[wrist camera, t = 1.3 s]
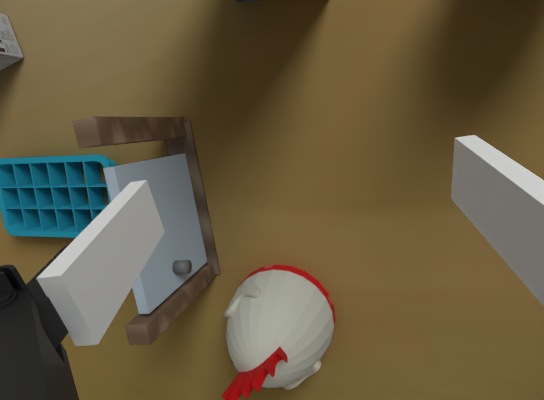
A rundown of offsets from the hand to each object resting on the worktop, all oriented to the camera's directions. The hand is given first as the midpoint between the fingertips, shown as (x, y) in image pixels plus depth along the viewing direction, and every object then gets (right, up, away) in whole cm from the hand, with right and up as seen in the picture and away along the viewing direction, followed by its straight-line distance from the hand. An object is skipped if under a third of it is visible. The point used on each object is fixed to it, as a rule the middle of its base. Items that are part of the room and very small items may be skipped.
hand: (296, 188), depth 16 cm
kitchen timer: (+1, -16, +33) cm, 37 cm away
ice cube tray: (-31, 0, +38) cm, 50 cm away
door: (-11, -2, +32) cm, 34 cm away
